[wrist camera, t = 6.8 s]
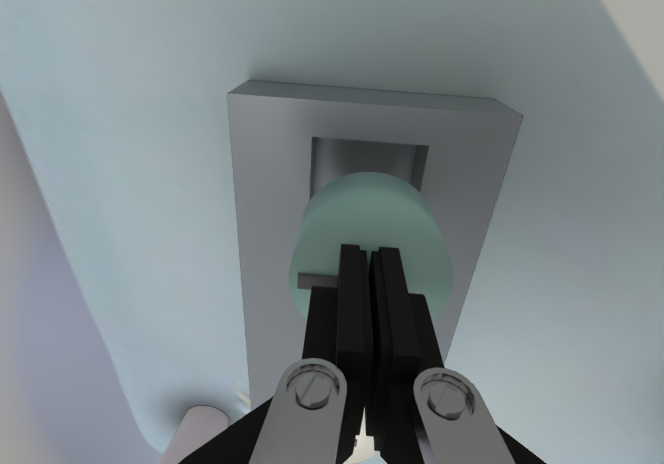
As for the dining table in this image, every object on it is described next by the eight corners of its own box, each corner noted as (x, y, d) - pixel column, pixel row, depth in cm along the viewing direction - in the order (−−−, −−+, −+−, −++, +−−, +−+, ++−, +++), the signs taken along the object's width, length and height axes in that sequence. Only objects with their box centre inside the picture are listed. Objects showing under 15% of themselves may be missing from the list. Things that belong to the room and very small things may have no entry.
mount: (494, 99, 18) (523, 116, 15) (414, 391, 29) (421, 434, 26) (247, 80, 18) (227, 93, 15) (262, 378, 29) (252, 420, 26)
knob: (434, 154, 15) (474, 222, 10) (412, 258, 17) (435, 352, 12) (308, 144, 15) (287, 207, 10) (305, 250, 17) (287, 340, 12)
